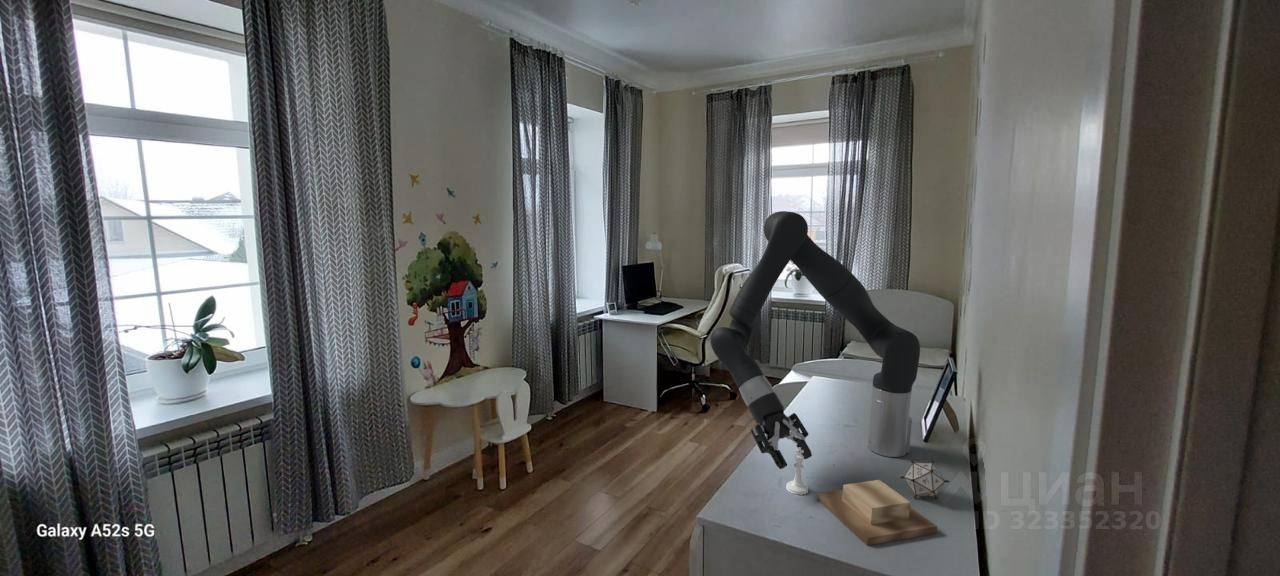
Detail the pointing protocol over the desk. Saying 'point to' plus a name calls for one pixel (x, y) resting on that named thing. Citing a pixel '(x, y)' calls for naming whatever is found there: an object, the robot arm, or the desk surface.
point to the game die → (924, 479)
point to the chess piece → (798, 477)
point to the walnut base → (876, 529)
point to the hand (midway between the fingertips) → (796, 462)
